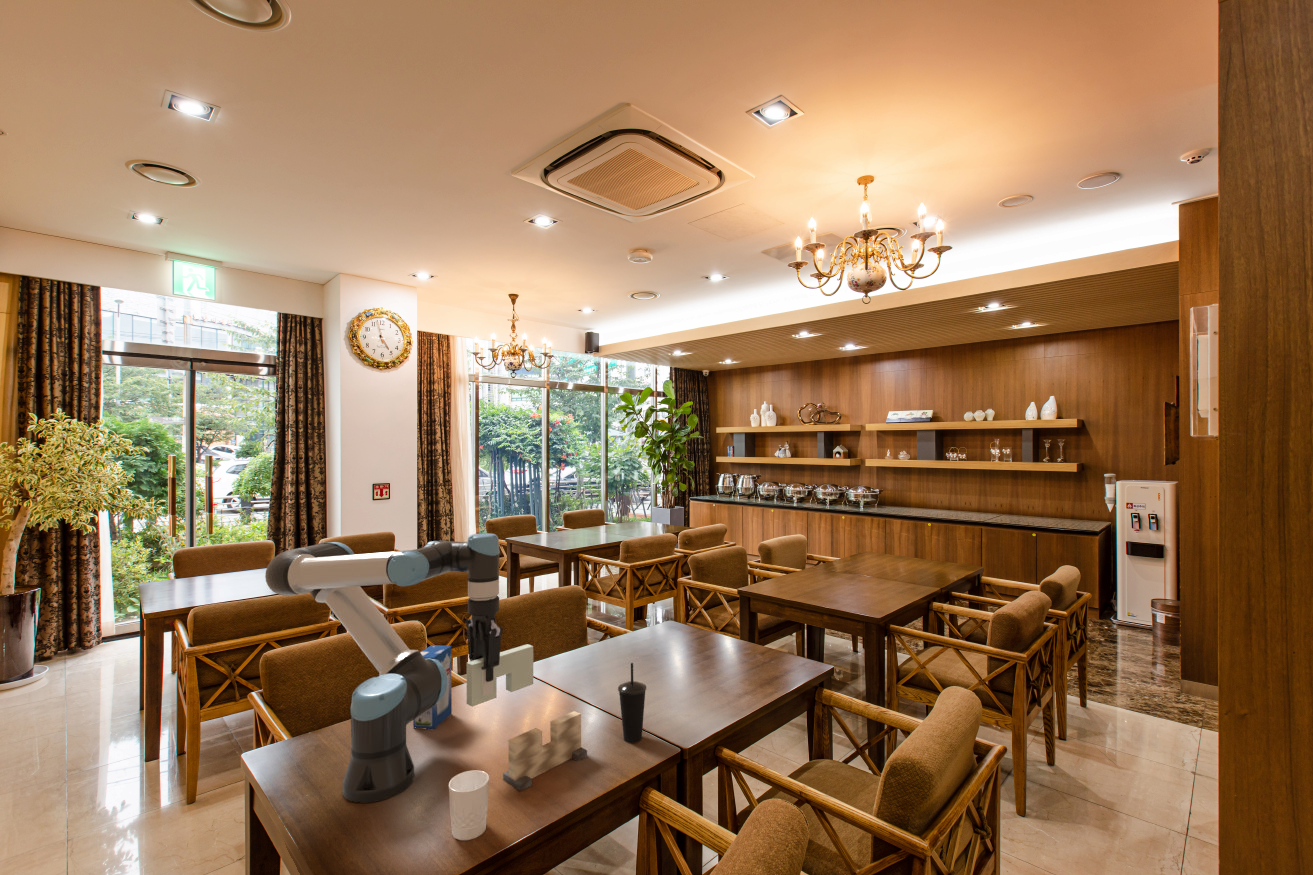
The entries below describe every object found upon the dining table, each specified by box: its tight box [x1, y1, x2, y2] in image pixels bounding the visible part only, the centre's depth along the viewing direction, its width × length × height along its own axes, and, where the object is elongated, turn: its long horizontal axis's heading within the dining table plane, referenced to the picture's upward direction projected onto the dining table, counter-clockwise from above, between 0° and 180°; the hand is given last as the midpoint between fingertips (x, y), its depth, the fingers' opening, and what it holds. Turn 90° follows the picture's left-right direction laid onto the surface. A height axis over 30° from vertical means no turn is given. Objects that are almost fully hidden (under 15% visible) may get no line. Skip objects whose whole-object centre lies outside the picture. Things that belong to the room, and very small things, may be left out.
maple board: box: [502, 710, 588, 792], centre depth 143 cm, size 20×7×10 cm, turn 138°
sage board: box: [466, 643, 534, 707], centre depth 149 cm, size 18×2×10 cm, turn 138°
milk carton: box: [412, 644, 453, 730], centre depth 169 cm, size 10×6×20 cm, turn 171°
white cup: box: [448, 769, 490, 841], centre depth 120 cm, size 8×8×10 cm
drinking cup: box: [617, 662, 647, 744], centre depth 157 cm, size 8×8×20 cm
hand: (483, 691), depth 145 cm, fingers closed on sage board, 2 cm apart
